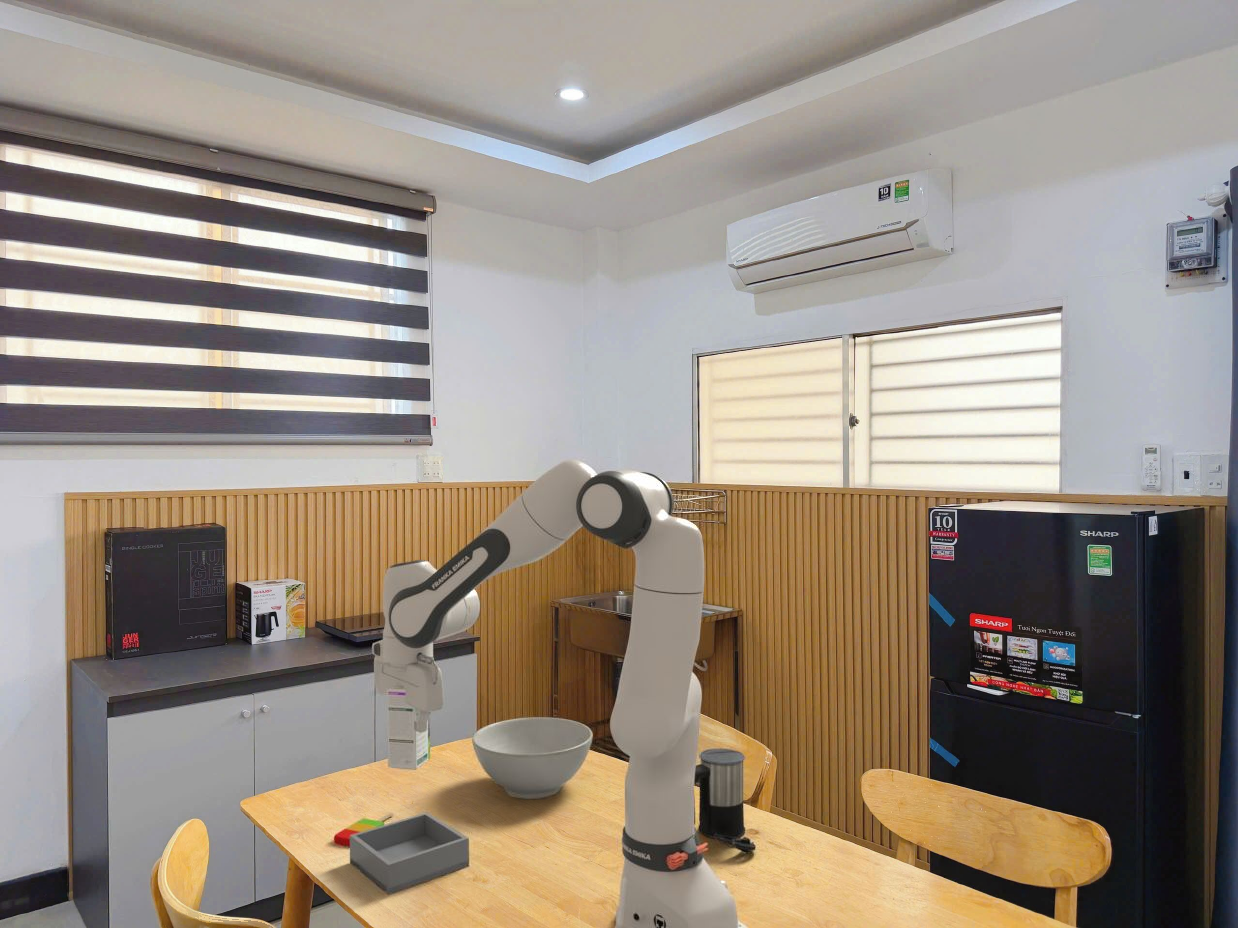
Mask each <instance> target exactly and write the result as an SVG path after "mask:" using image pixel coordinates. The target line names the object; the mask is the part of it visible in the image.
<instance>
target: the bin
mask: <svg viewBox="0 0 1238 928" xmlns="http://www.w3.org/2000/svg"><path fill="white" fill-rule="evenodd" d="M349 864H350V865H352V866H353V867H354V868H355V869H357V870H358V871H360V872H361V873H362V874H363V875H364V876H365V877H366V878H368V879H369V880H370V881H371V882H372V883H374V885H375V884H376V886H377V887H379V888H380V889H381V890H382V891H383V892H385V894H387V895H392V894H394V893H398V892H401V891H403V890H406V889H408V888H412V887H413V886H417V885H420V884H422V883H425V882H427V881H430V880H433V879H436V878H440V877H443V876H444V875H447V874H450V873H453V872H456V871H459V870H461V869H464V868H467V867H470V838H469V837H468V836H466V835H464V834H463V833H461V832H460V831H458V830H457V829H454V828H453V827H452V826H450V825H448V824H447V823H446V822H443V821H442V820H440V819H439V818H437V817H435V816H434V815H432V814H431V813H429V812H428V811H427V812H423V813H419V814H416V815H412V816H409V817H406V818H402V819H400V820H396V821H394V822H393V821H392V822H390V823H387V824H384V825H383V826H379V827H376V828H373V829H369V830H366V831H363V832H359V833H356V834H353V835H350V847H349Z"/></svg>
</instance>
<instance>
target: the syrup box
mask: <svg viewBox="0 0 1238 928" xmlns="http://www.w3.org/2000/svg"><path fill="white" fill-rule="evenodd" d="M405 696H406V691H405V688H404V687H401V686H397V685H394V686H392V687H390V688H388V689H387V695H386V730H387V732H386V733H387V736H386V737H387V742H386V743H387V745H386V746H387V767H388V768H392V769H400V770H408V771H409V770H410V771H411V770H412V771H418V770H417V769H418V768H420V767H421V766H423V765H424V764H425V763H426V762H428V761H429V760H430V759H431V735H430V733H431V731H430V730H431V728H430V726H431V725H430V723H431V721H430V719H431V717H430V716H429V718H428V721H427V730H426V731H425V732H421V733H419V732H417V731H415V730H414V727H415V726H414V721H417V716H418V714H417V713H416V708H415V707H413V706H410V705H408V704H407V703H406V701H405Z"/></svg>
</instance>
